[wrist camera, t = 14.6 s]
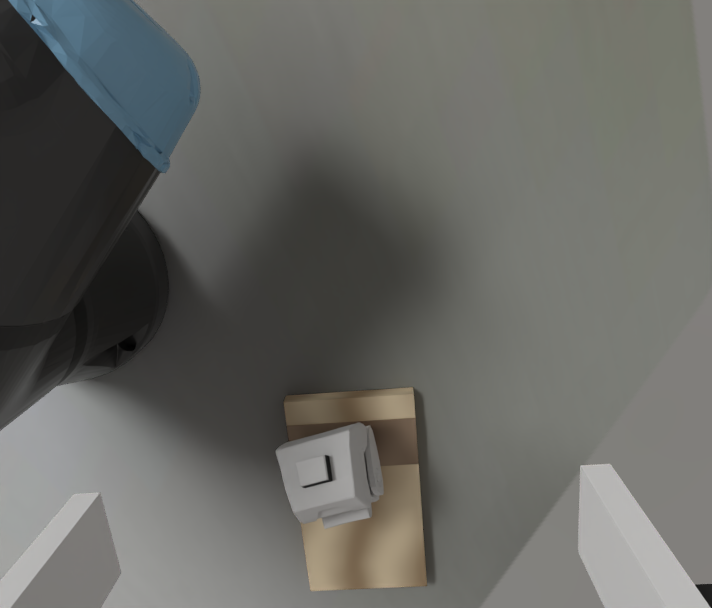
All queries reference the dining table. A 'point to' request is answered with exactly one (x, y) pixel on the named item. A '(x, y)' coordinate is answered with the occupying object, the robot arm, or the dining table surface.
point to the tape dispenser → (332, 475)
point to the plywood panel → (389, 514)
